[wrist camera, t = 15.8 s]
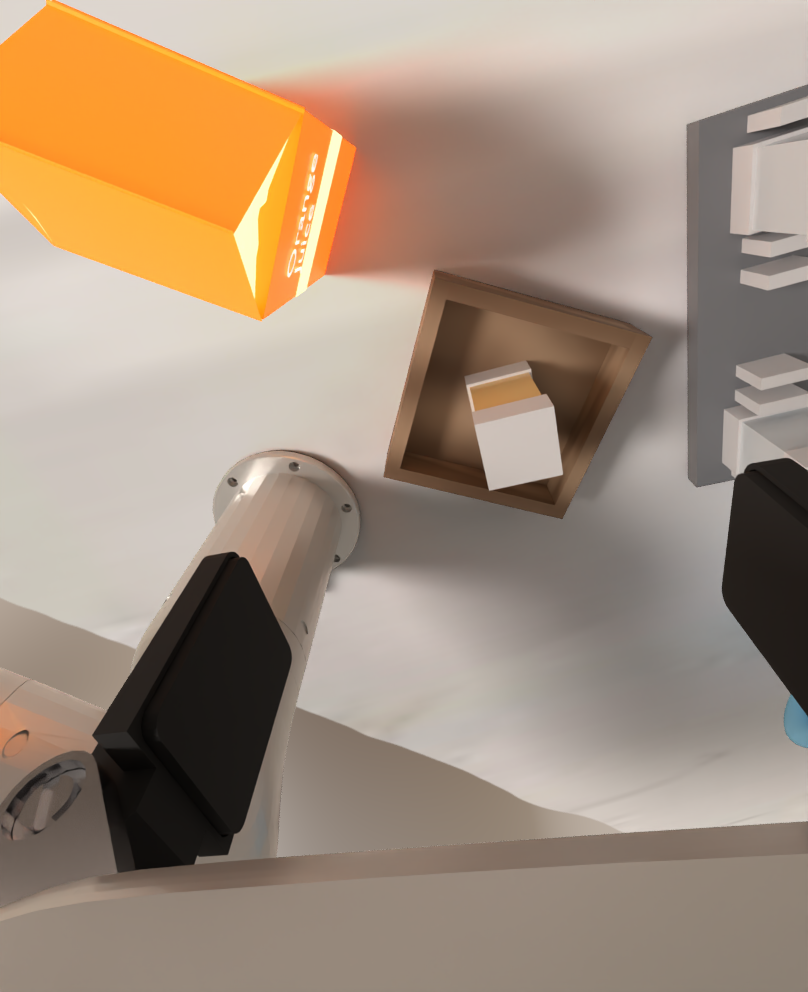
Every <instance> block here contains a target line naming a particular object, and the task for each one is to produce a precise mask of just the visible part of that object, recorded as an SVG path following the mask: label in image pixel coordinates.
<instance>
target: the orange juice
mask: <svg viewBox="0 0 808 992" xmlns="http://www.w3.org/2000/svg"><path fill="white" fill-rule="evenodd" d="M304 109H305V107H303V106H300V105H298V104H296V103H293V102H291V101H289V100H286V99H284V98H282V97H279V96H277V95H275V94H272V93H270V92H268V91H265V90H263V89H261V88H258V87H256V86H254V85H251V84H249V83H247V82H244V81H242V80H240V79H237V78H235V77H233V76H230V75H228V74H226V73H223V72H221V71H219V70H216V69H214V68H212V67H209V66H207V65H205V64H202V63H200V62H198V61H195V60H193V59H191V58H188V57H186V56H184V55H181V54H179V53H177V52H175V51H172V50H170V49H168V48H165V47H163V46H161V45H158V44H156V43H154V42H151V41H149V40H147V39H144V38H142V37H140V36H137V35H135V34H133V33H130V32H128V31H126V30H123V29H121V28H119V27H116V26H114V25H112V24H109V23H107V22H105V21H102V20H100V19H98V18H95V17H93V16H91V15H88V14H86V13H84V12H81V11H79V10H77V9H74V8H72V7H70V6H67V5H65V4H63V3H60V2H58V1H56V0H52V1H50V0H46V6H45V7H44V8H43V9H42V10H40V11H39V12H38V13H37V14H36V15H35V16H33V17H32V18H31V19H30V20H29V21H28V22H27V23H25V24H24V25H23V26H22V27H21V28H20V29H18V30H17V31H16V32H15V33H14V34H13V35H12V36H10V37H9V38H8V39H7V40H6V41H5V42H3V43H2V44H1V45H0V193H1V194H2V195H3V196H4V197H5V198H6V199H7V200H8V201H9V202H10V203H11V204H12V205H13V206H14V207H15V208H16V209H17V210H18V211H19V212H20V213H21V214H22V215H23V216H24V217H25V218H26V219H27V220H28V221H29V222H30V223H31V224H32V225H33V226H34V227H35V228H36V229H37V230H38V231H39V232H40V233H41V234H42V235H43V236H44V237H45V238H46V239H47V240H48V241H49V242H50V243H51V244H53V245H54V246H56V247H58V248H61V249H64V250H67V251H69V252H72V253H75V254H78V255H80V256H83V257H86V258H89V259H91V260H94V261H97V262H100V263H102V264H105V265H108V266H111V267H113V268H116V269H119V270H122V271H124V272H127V273H130V274H133V275H135V276H138V277H141V278H144V279H146V280H149V281H152V282H155V283H157V284H160V285H163V286H166V287H168V288H171V289H174V290H177V291H179V292H182V293H185V294H188V295H190V296H193V297H196V298H199V299H201V300H204V301H207V302H210V303H212V304H215V305H218V306H221V307H223V308H226V309H229V310H232V311H234V312H237V313H240V314H243V315H245V316H248V317H251V318H254V319H256V320H259V321H262V320H261V319H264V318H266V317H267V316H269V315H270V314H271V313H273V312H274V311H275V310H277V309H278V308H280V307H281V306H282V305H284V304H285V303H287V302H288V301H289V300H291V299H292V298H293V297H297V296H298V295H300V294H301V293H302V292H304V291H305V290H306V289H307V287H309V286H310V285H311V284H313V283H314V282H316V281H317V280H318V279H320V278H321V277H322V276H324V275H325V271H326V267H327V263H328V259H329V255H330V251H331V247H332V243H333V239H334V235H335V231H336V227H337V223H338V219H339V215H340V211H341V207H342V203H343V199H344V195H345V191H346V187H347V183H348V179H349V175H350V171H351V167H352V163H353V159H354V155H355V151H356V147H355V146H353V145H352V144H350V143H349V142H348V141H346V140H345V139H344V138H342V136H341V135H340V134H339V133H337V132H336V131H335V130H333V129H330V128H329V127H327V126H326V125H325V124H323V123H322V122H321V121H319V120H318V119H317V118H315V117H314V116H312V115H311V114H310V113H308V112H307V111H306V110H304Z"/></svg>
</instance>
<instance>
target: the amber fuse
mask: <svg viewBox="0 0 808 992" xmlns="http://www.w3.org/2000/svg"><path fill="white" fill-rule="evenodd" d="M464 377H465V382H466V387H467V391H468V396H469V400H470V405H471V409H472V416H473V421H474V425H475V430H476V434H477V439H478V443H479V448H480V452H481V457H482V461H483V466H484V470H485V475H486V479H487V484H488V488H489V491H490V490H495V489H500V488H504V487H509V486H513V485H518V484H523V483H527V482H532V481H537V480H541V479H546V478H551V477H555V476H560V475H563V470H562V462H561V455H560V447H559V440H558V433H557V425H556V418H555V410H554V405H553V404H552V402H551V400H550V399H549V397H548V396H547V394H543V395H541V393H540V391H539V389H538V388H537V386H536V384H535V383H534V381H533V378H532V372H531V368H530V366H529V365H528V363H527V361H522V362H518V363H514V364H510V365H506V366H502V367H498V368H495V369H491V370H487V371H483V372H479V373H475V374H471V375H467V376H464Z"/></svg>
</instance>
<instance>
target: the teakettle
mask: <svg viewBox="0 0 808 992" xmlns="http://www.w3.org/2000/svg"><path fill="white" fill-rule="evenodd" d="M784 727H785V732H786V734H787V736H788V737H789V739H790V740H791V741H793V742H794V743H795V744H797V745H799V746H802V747H805V748H808V716H807V715H806V713H805V712H804V711H803V709H802V708H801V707H800V705H799V704H798V703H797V701H796V700H795V698H794V697H793V696H792V694H791V695H790V698H789V700H788V702H787V705H786V708H785V712H784Z"/></svg>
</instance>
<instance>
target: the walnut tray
mask: <svg viewBox="0 0 808 992" xmlns="http://www.w3.org/2000/svg"><path fill="white" fill-rule="evenodd" d="M651 339H652V337H651V336H649V335H648V334H646V333H645V332H643V331H641V330H640V329H638V328H636V327H635V326H633V325H631V324H630V323H626V322H622V321H619V320H615V319H612V318H608V317H604V316H601V315H597V314H593V313H590V312H586V311H582V310H579V309H575V308H572V307H568V306H564V305H561V304H557V303H553V302H550V301H546V300H543V299H539V298H535V297H532V296H528V295H524V294H521V293H517V292H513V291H510V290H506V289H503V288H499V287H495V286H492V285H488V284H484V283H481V282H477V281H473V280H470V279H466V278H463V277H459V276H455V275H452V274H448V273H444V272H441V271H437V270H434V272H433V276H432V280H431V284H430V288H429V292H428V295H427V299H426V303H425V307H424V311H423V315H422V319H421V323H420V327H419V331H418V335H417V339H416V343H415V347H414V351H413V355H412V358H411V362H410V366H409V370H408V374H407V378H406V382H405V386H404V390H403V394H402V398H401V402H400V406H399V410H398V414H397V418H396V422H395V425H394V429H393V433H392V437H391V441H390V445H389V449H388V453H387V459H386V465H385V472H384V477H386V478H390V479H394V480H398V481H403V482H407V483H411V484H415V485H420V486H424V487H428V488H432V489H437V490H441V491H445V492H449V493H454V494H458V495H462V496H466V497H471V498H475V499H479V500H483V501H488V502H492V503H496V504H500V505H505V506H509V507H513V508H517V509H522V510H526V511H530V512H535V513H539V514H543V515H547V516H552V517H556V518H560V519H563V516H564V514H565V512H566V510H567V508H568V506H569V504H570V502H571V500H572V498H573V496H574V494H575V492H576V490H577V488H578V486H579V484H580V482H581V480H582V478H583V476H584V474H585V472H586V470H587V468H588V466H589V464H590V462H591V460H592V458H593V456H594V454H595V452H596V450H597V448H598V446H599V444H600V442H601V440H602V438H603V436H604V434H605V432H606V430H607V428H608V426H609V424H610V422H611V420H612V418H613V416H614V414H615V412H616V410H617V408H618V406H619V404H620V402H621V400H622V398H623V396H624V394H625V392H626V389H627V387H628V385H629V383H630V381H631V379H632V377H633V375H634V373H635V371H636V369H637V367H638V365H639V363H640V361H641V359H642V357H643V355H644V353H645V351H646V349H647V347H648V345H649V343H650V341H651ZM522 361H527V363H528V365H529V366H530V368H531V372H532V378H533V381H534V383H535V384H536V386H537V388H538V389H539V391H540V393H541V395H543V394H547V396H548V397H549V399H550V400H551V402H552V404H553V405H554V410H555V418H556V425H557V433H558V440H559V447H560V455H561V462H562V470H563V475H560V476H555V477H551V478H546V479H541V480H537V481H532V482H527V483H523V484H518V485H513V486H509V487H504V488H500V489H495V490H490V491H489V488H488V484H487V479H486V475H485V470H484V466H483V461H482V457H481V452H480V448H479V443H478V439H477V434H476V430H475V425H474V421H473V416H472V409H471V405H470V400H469V396H468V391H467V387H466V382H465V377H464V376H467V375H471V374H475V373H479V372H483V371H487V370H491V369H495V368H498V367H502V366H506V365H510V364H514V363H518V362H522Z"/></svg>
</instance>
